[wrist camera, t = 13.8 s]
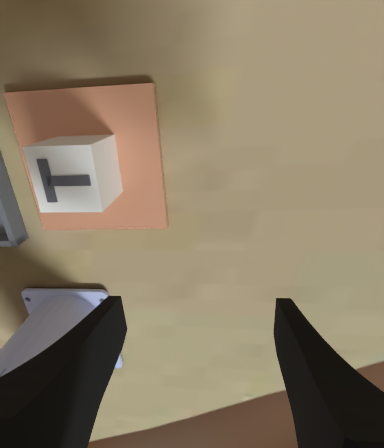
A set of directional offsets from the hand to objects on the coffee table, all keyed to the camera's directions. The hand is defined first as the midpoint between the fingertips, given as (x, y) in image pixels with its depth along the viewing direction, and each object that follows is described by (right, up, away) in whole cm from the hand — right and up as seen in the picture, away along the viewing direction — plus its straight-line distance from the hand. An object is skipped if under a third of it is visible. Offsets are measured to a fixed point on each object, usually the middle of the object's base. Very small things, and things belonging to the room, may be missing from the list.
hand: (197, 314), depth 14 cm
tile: (-7, +9, +8) cm, 14 cm away
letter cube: (-7, +8, +7) cm, 13 cm away
